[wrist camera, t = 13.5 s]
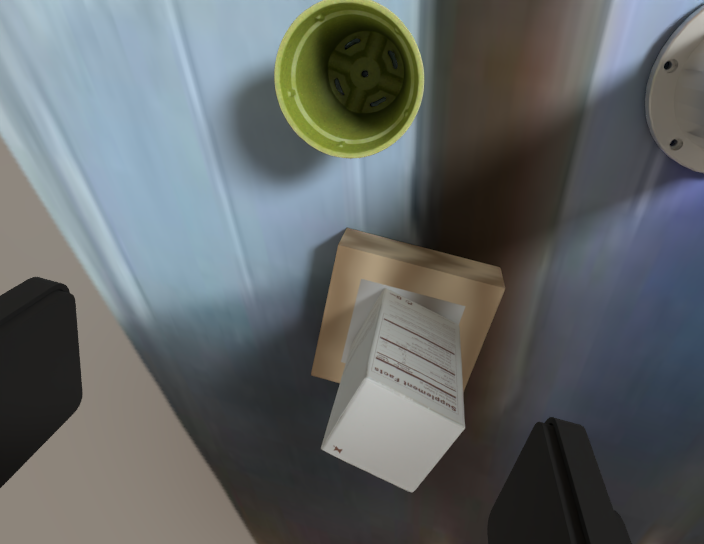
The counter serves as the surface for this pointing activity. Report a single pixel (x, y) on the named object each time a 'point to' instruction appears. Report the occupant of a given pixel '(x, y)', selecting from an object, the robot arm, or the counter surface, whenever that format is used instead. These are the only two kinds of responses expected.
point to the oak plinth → (410, 282)
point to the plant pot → (348, 77)
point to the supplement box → (399, 393)
